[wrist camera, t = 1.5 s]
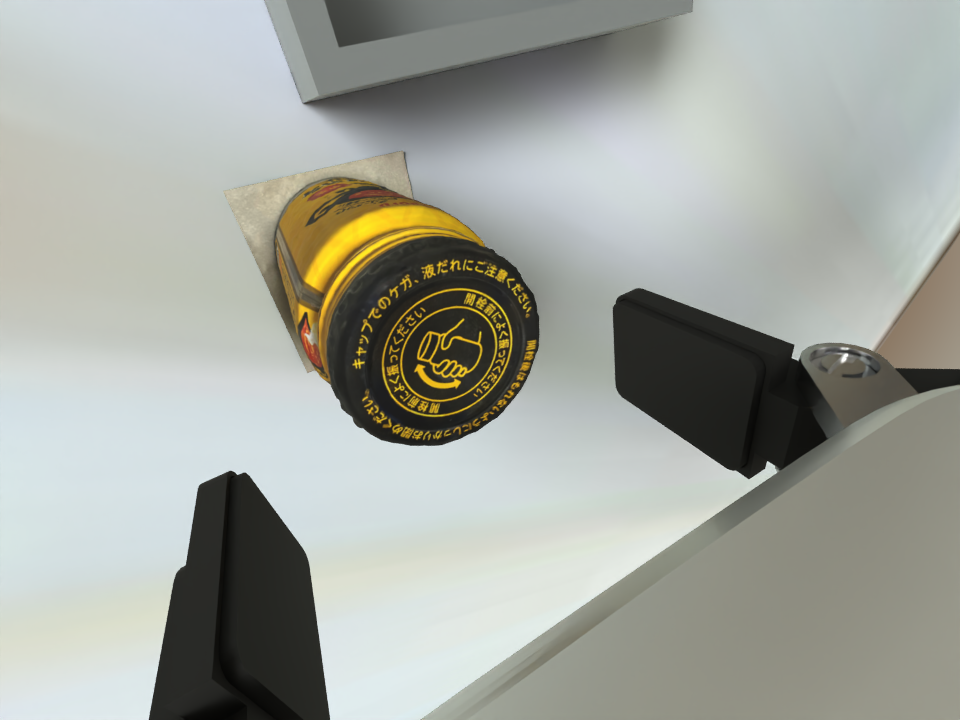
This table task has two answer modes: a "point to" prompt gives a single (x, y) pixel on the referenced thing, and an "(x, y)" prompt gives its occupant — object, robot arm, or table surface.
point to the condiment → (391, 299)
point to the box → (435, 35)
